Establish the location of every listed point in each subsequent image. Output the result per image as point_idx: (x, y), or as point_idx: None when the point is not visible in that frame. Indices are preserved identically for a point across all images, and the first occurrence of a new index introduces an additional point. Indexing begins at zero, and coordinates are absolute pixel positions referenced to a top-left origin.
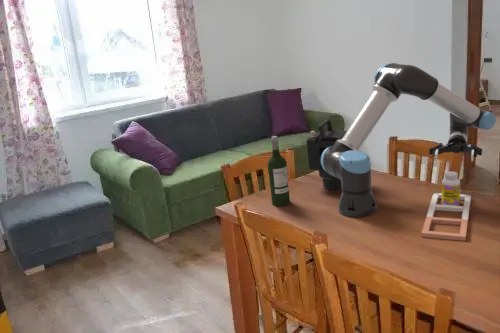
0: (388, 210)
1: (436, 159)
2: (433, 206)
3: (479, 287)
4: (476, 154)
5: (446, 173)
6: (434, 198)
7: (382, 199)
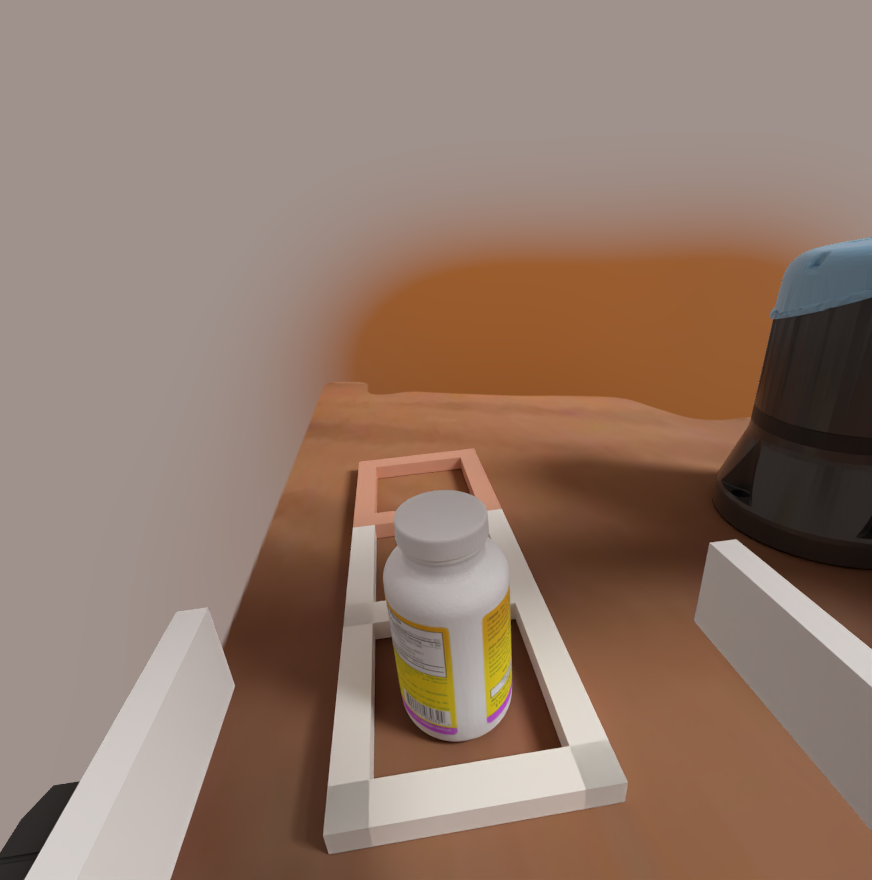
0: (693, 542)
1: (697, 607)
2: (515, 581)
3: (338, 404)
4: (48, 811)
5: (472, 506)
6: (561, 674)
7: (865, 634)
